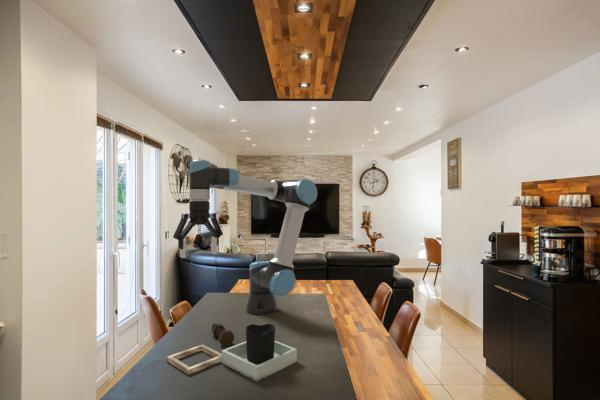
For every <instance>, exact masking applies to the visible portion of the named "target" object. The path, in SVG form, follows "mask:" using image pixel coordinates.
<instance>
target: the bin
mask: <svg viewBox="0 0 600 400" xmlns="http://www.w3.org/2000/svg"><path fill="white" fill-rule="evenodd" d="M297 352H298V349H297V348H295V347H293V346H290V345H287V344H285V343H282V342H280V341H277V340H275V344H274V358H272V359H270V360H268V361H266V362H264V363H262V364H259V365H257V364H253V363H251V362H249V361H248V360H247V351H246V340H245V341H243V342H240V343H238V344H234V345H233V346H231V347H227V348H225V349H222V350H221V362H220V363H221V365H225V366H226V367H228V368H230V369H231V368H232V370H233V369H234V370H233V371H235V370H236V372H237V371H238V373H239V372H240V374H241V375H242V376H244V377H247V378H248V379H250V378H251V380H252V381H255V382H259V380H260V381H261V379H262V380H264V379H266V378H267V377H269V376H271V375H273V374H275V373H277V372H279V371H281V370H283V369H285V368H287V367H289V366H290V365H292V364H295V363H296V362H297V361H298V359H297V357H298V353H297ZM263 378H264V379H263Z"/></svg>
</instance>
